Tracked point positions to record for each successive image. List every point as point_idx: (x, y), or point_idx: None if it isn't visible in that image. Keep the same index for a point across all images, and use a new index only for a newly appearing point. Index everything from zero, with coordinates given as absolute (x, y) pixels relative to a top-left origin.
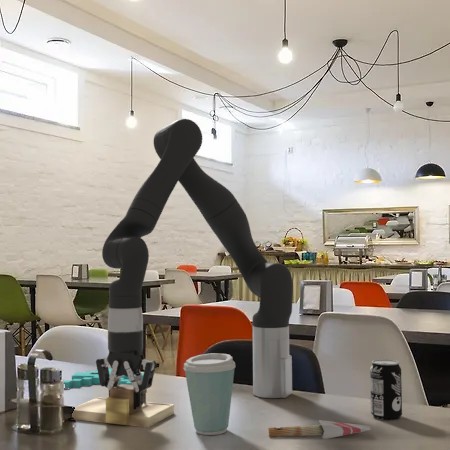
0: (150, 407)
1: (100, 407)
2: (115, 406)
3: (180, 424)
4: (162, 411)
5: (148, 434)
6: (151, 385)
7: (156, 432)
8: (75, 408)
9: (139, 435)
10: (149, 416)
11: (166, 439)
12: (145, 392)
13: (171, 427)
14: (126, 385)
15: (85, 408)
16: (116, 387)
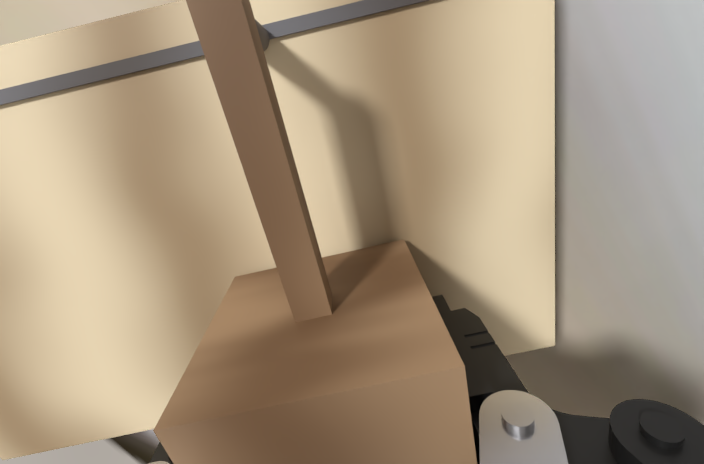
0: (416, 145)
1: (105, 340)
2: None
3: (671, 172)
4: (549, 162)
5: (581, 380)
6: (690, 419)
7: (602, 344)
8: (11, 429)
9: (550, 406)
10: (546, 324)
11: (689, 387)
12: (256, 31)
13: (641, 247)
14: (271, 447)
15: (57, 401)
16: None
